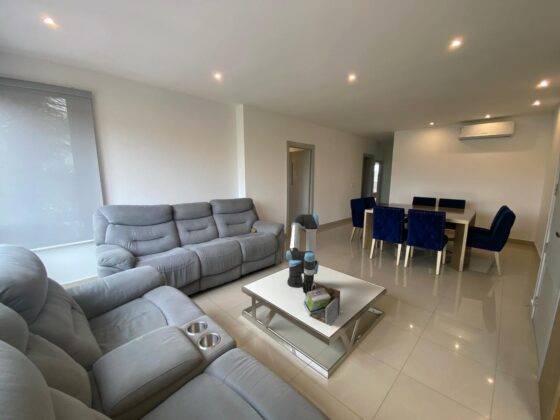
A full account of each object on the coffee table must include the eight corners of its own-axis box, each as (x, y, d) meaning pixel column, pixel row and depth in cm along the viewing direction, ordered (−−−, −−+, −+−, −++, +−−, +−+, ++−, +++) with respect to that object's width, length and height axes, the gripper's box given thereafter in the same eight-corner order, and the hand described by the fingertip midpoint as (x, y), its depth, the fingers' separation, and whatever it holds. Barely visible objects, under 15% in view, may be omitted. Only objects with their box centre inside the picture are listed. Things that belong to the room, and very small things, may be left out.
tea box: (309, 316, 165) (313, 302, 158) (302, 305, 173) (306, 291, 166) (326, 310, 171) (331, 297, 164) (319, 300, 179) (323, 286, 172)
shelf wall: (296, 310, 172) (296, 290, 169) (309, 298, 187) (309, 280, 184) (327, 324, 156) (328, 303, 153) (339, 310, 171) (340, 290, 168)
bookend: (325, 323, 157) (325, 307, 155) (336, 310, 171) (337, 295, 169) (330, 325, 155) (330, 309, 153) (341, 312, 169) (342, 297, 167)
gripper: (299, 272, 172) (298, 301, 176) (313, 277, 164) (312, 307, 168) (304, 269, 178) (303, 297, 182) (319, 274, 170) (317, 303, 174)
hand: (307, 302), depth 175 cm, fingers closed
